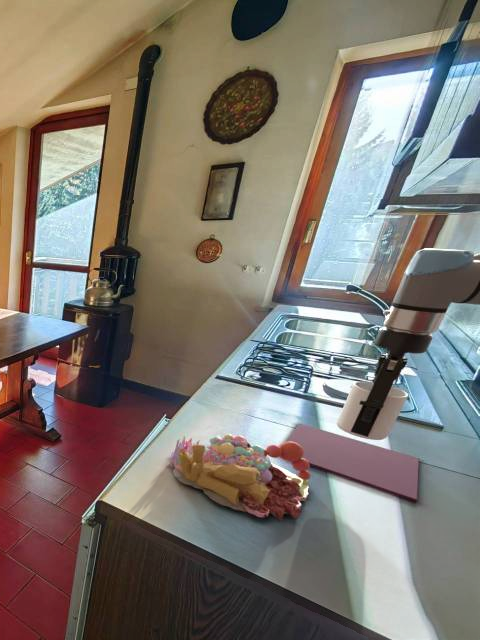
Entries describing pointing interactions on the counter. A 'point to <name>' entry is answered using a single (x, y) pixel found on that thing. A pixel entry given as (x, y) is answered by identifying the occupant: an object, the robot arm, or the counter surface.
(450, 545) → the counter surface
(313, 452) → the mat
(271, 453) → the food platter
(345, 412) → the cup
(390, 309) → the robot arm
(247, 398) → the counter surface
